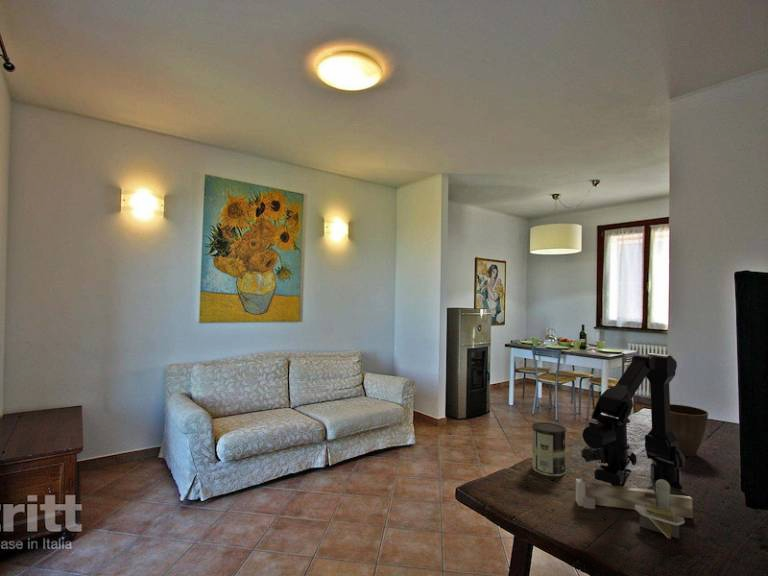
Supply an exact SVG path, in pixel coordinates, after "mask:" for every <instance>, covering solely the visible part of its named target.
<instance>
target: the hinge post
mask: <svg viewBox="0 0 768 576" xmlns="http://www.w3.org/2000/svg"><path fill="white" fill-rule="evenodd" d="M670 491H671V486H670V485H669V483H668V482H667V481H665V480H663V479H659V480H657V481H656V482H655V493H656V506H659V507H658V509H659V510H658V511H661V510H663V511H661V512H665V511H666V512H665V513H668V512H670V510H668V509H670V494H671V492H670ZM661 507H662V508H661ZM664 508H666V509H664Z"/></svg>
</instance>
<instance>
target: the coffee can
mask: <svg viewBox="0 0 768 576" xmlns="http://www.w3.org/2000/svg"><path fill="white" fill-rule="evenodd" d="M531 427H532V428H531V429H532V469H533V471H535V472H536V473H538V474H540V475H543V476H548V477H561V476H562V477H563V476H564V475H566V473H567V472H566V430H567V429H566V427H564V426H563V425H560V424H557V423H553V422H547V421H546V422H545V421H542V422H541V421H540V422H534V423H532V425H531Z"/></svg>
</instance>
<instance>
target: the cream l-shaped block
mask: <svg viewBox="0 0 768 576" xmlns="http://www.w3.org/2000/svg"><path fill="white" fill-rule="evenodd" d="M575 501H576V504H577V506H579V507H583V508H585V509H592V510H595V509H596V505H595V499H594V498H591V497H586V483H585V482H584V481H583V479H582V478H581V479H580V478H575Z"/></svg>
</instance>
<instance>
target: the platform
mask: <svg viewBox="0 0 768 576" xmlns="http://www.w3.org/2000/svg"><path fill="white" fill-rule="evenodd" d="M647 505H648V503H646V507H643V506H640V505H635V511H636V512H637V513H639V527H641V528H644V529H647V530H650V531H653V532H657V533H660V534H663V535H664V536H665V537H666V538H667V539H670V540H671V539H672V537H673V538H676V539H680V525H683V524H685V517H679V516H675V511H674V514H673V513H670V512H668V513H665V512H666V511H665V512H661V511H663V510H661V511H658V510H659V509H658V507H659V506H655V505H652V504H650V505H652V507H650V506H649V505H648V506H649V507H650V508H651V509H650V508H647V507H648V506H647ZM661 508H662V507H661ZM664 509H666V508H664ZM668 510H670V509H668ZM672 511H673V510H672Z"/></svg>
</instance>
